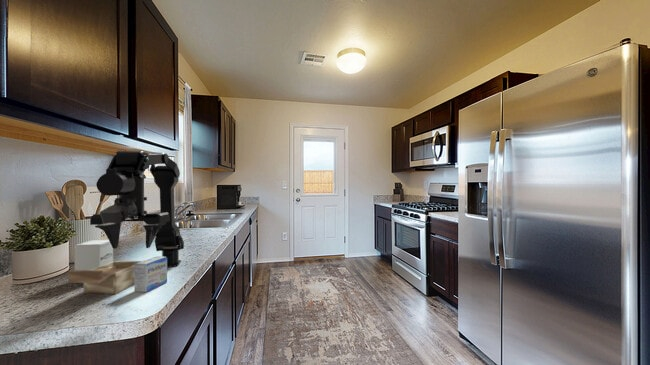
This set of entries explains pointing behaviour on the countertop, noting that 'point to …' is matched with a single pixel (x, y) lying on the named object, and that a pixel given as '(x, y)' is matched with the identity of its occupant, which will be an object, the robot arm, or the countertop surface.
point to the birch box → (114, 279)
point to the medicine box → (150, 273)
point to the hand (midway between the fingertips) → (131, 248)
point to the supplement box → (93, 254)
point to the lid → (92, 275)
